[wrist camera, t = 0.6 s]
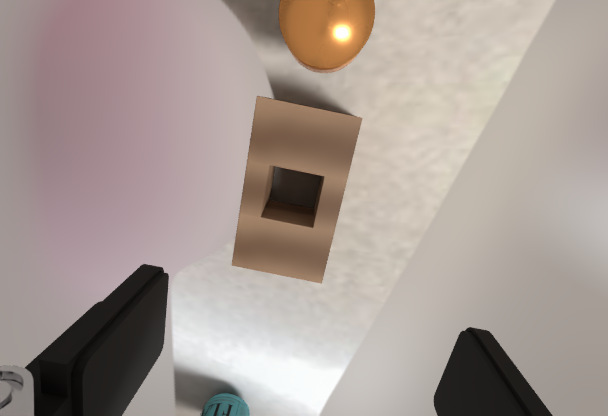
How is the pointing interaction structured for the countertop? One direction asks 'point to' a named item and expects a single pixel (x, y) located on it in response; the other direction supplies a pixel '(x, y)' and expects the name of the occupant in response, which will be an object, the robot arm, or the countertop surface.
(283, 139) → the block
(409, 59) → the countertop surface
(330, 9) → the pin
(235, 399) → the beverage bottle
